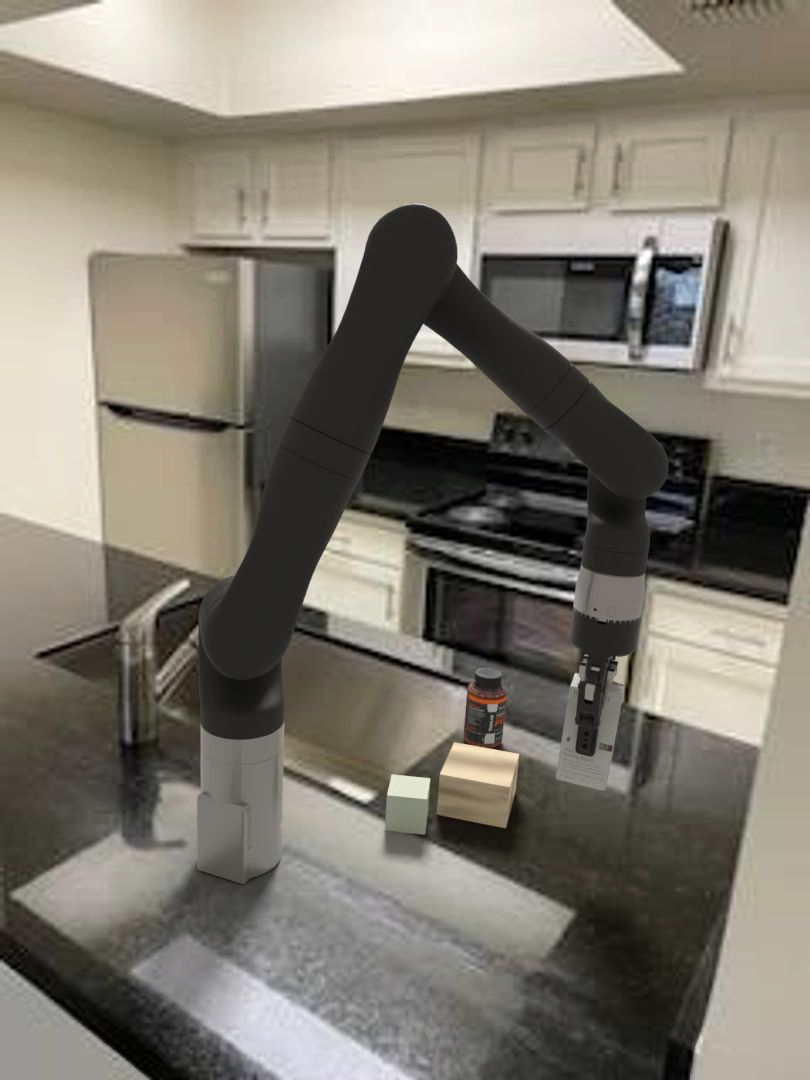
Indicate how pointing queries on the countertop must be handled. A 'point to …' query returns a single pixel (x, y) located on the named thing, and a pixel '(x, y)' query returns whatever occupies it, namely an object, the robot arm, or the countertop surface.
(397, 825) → the sage block
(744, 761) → the countertop surface
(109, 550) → the countertop surface
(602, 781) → the skincare box
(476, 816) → the maple block
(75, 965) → the countertop surface
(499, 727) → the supplement bottle
